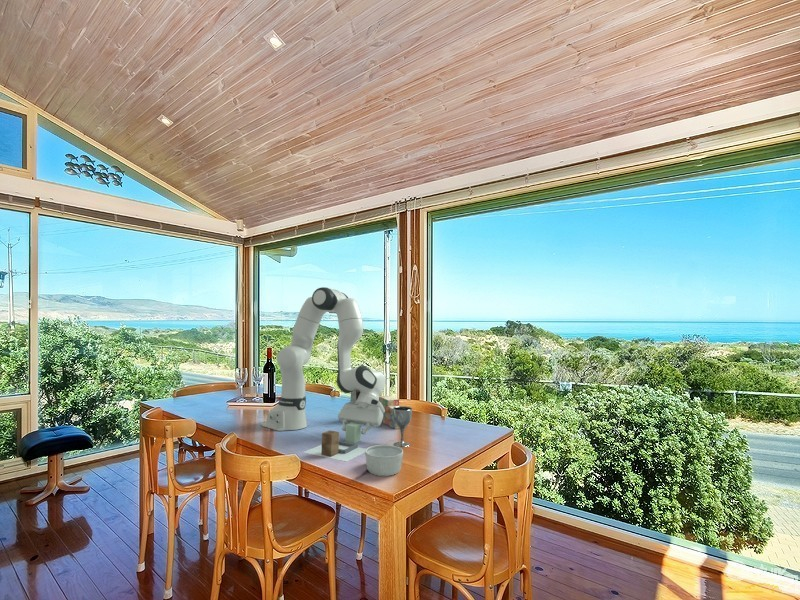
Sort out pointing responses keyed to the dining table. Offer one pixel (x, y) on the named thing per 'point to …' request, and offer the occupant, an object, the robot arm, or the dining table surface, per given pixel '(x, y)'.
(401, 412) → the wine glass
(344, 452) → the board
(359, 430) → the sage block
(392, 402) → the colourful cardboard box
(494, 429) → the dining table surface
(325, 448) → the walnut block
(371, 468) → the ramekin
